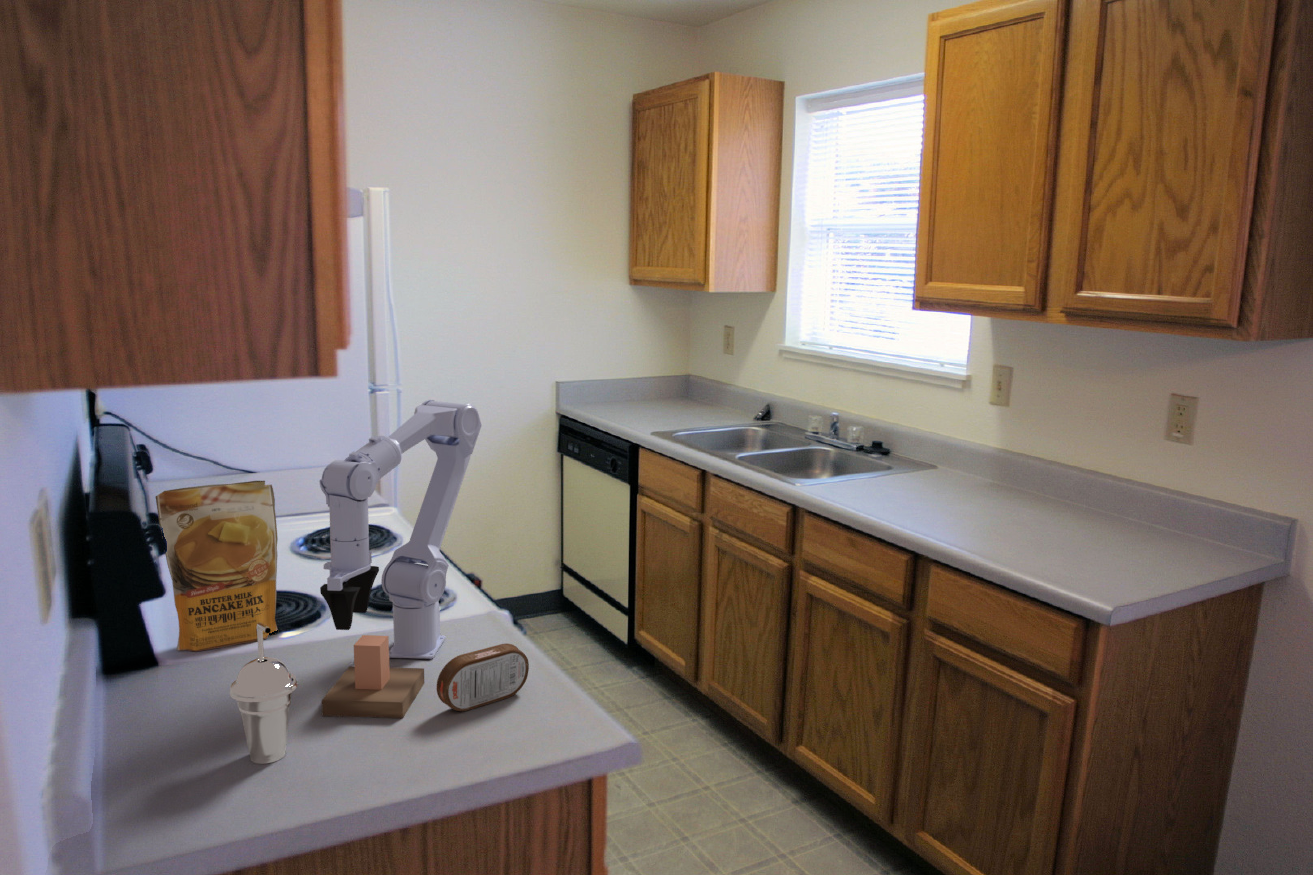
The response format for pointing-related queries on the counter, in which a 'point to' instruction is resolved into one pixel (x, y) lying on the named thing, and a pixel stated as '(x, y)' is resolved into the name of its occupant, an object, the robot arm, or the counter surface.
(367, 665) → the terracotta block
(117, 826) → the counter surface
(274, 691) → the cup with straw
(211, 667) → the counter surface
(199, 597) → the pancake mix bag
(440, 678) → the tin
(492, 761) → the counter surface
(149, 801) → the counter surface
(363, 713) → the walnut base
